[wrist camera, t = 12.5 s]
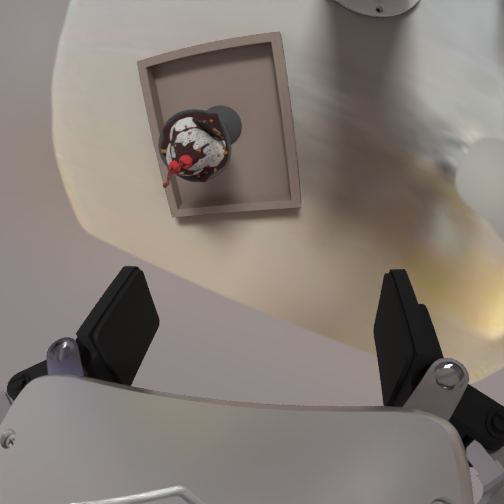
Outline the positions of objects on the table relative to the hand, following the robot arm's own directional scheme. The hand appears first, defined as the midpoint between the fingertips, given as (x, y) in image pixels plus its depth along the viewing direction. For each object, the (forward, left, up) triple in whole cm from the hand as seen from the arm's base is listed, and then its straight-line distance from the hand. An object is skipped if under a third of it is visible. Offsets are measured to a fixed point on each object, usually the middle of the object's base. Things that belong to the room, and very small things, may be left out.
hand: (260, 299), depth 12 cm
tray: (-2, -7, -28) cm, 29 cm away
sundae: (-3, -8, -27) cm, 28 cm away
